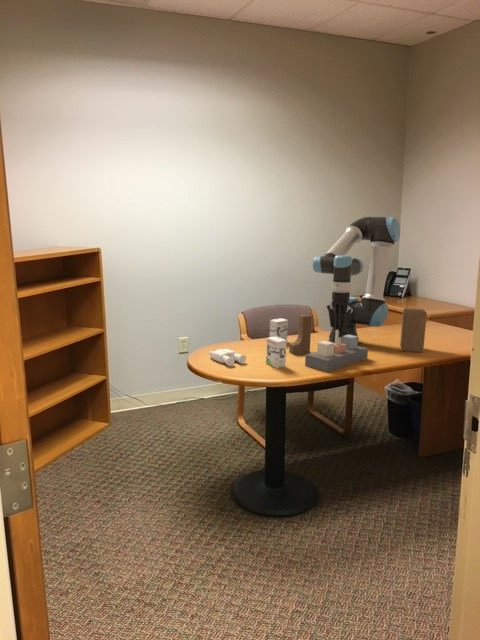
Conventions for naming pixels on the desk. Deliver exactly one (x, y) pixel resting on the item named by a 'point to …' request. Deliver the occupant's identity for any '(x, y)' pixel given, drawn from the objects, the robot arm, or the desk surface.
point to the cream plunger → (325, 349)
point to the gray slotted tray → (336, 359)
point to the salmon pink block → (339, 348)
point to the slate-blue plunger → (350, 341)
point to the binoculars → (227, 356)
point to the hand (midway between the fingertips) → (337, 343)
